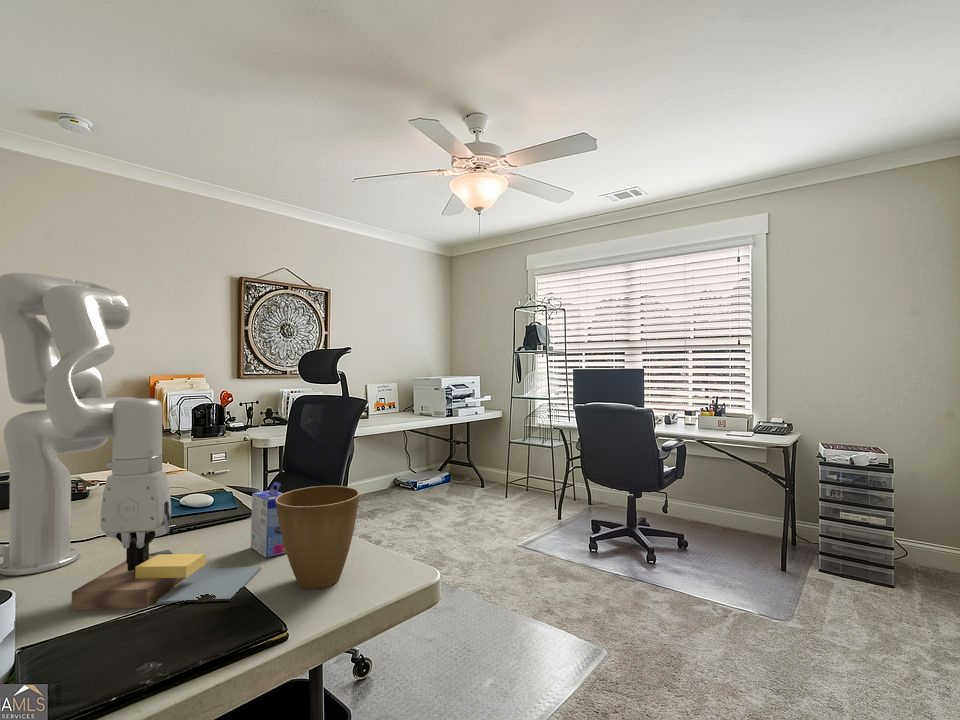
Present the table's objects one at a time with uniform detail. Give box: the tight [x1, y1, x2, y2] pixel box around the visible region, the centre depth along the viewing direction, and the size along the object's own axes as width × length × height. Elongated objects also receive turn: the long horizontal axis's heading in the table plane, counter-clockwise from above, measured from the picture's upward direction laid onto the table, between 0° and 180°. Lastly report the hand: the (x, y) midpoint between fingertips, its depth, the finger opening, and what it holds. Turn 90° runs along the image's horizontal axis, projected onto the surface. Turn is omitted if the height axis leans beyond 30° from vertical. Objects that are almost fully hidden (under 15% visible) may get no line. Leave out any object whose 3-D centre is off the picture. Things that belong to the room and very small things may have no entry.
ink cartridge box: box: [250, 481, 287, 558], centre depth 110 cm, size 10×6×14 cm, turn 43°
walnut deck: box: [71, 556, 186, 611], centre depth 91 cm, size 12×16×3 cm
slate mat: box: [156, 566, 262, 605], centre depth 91 cm, size 12×14×1 cm
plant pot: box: [275, 485, 361, 590], centre depth 93 cm, size 15×15×16 cm
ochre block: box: [135, 553, 207, 579], centre depth 91 cm, size 9×6×2 cm, turn 89°
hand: (137, 567), depth 91 cm, fingers closed
